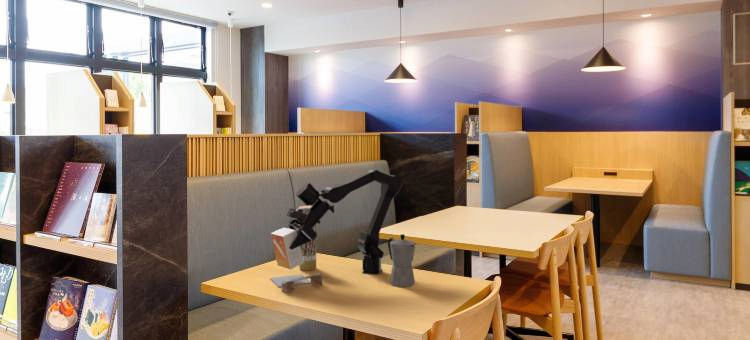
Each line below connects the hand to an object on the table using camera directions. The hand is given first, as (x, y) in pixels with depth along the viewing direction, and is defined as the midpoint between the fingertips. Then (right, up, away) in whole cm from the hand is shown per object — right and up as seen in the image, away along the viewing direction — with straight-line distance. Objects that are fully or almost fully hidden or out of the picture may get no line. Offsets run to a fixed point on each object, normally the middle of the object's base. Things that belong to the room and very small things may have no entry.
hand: (286, 246), depth 196 cm
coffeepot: (+41, -13, 0) cm, 43 cm away
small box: (+1, -7, +1) cm, 7 cm away
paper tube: (+5, -12, +19) cm, 23 cm away
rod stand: (+7, -14, -7) cm, 17 cm away
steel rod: (+7, -11, -7) cm, 15 cm away
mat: (+1, -13, +1) cm, 13 cm away
